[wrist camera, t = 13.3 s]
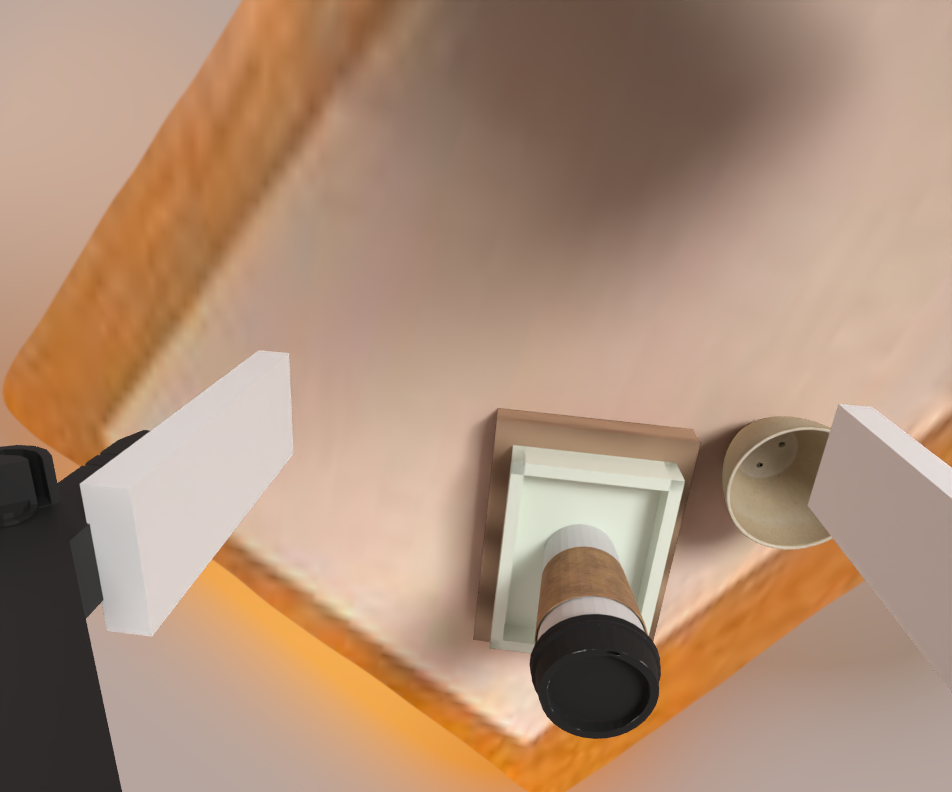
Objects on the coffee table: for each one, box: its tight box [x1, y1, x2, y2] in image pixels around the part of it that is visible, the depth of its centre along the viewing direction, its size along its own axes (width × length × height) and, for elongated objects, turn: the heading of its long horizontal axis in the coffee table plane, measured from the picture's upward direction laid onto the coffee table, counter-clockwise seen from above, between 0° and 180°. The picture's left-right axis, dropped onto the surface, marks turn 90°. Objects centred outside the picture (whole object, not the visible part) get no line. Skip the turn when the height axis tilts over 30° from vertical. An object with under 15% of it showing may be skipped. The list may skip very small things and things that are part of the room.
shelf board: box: [473, 408, 701, 641], centre depth 55 cm, size 22×16×2 cm
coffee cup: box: [530, 524, 661, 739], centre depth 46 cm, size 8×8×15 cm
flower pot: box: [722, 417, 832, 549], centre depth 49 cm, size 10×10×7 cm
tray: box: [490, 445, 685, 653], centre depth 52 cm, size 18×13×3 cm
